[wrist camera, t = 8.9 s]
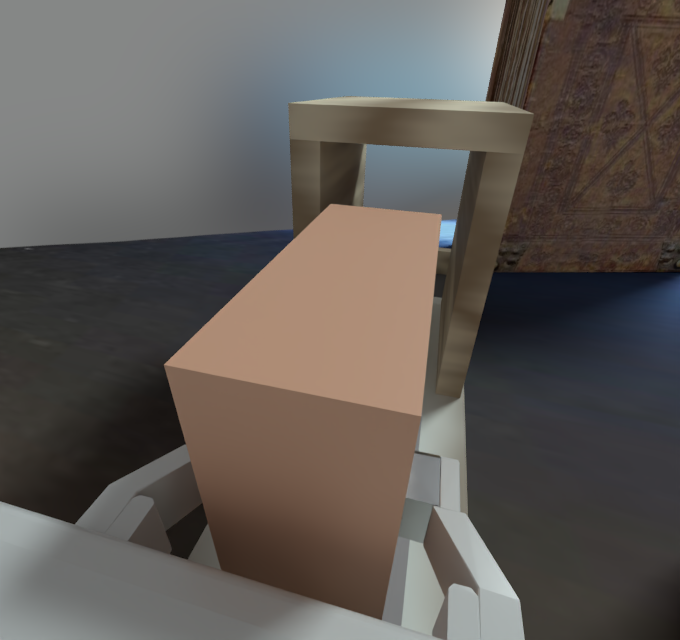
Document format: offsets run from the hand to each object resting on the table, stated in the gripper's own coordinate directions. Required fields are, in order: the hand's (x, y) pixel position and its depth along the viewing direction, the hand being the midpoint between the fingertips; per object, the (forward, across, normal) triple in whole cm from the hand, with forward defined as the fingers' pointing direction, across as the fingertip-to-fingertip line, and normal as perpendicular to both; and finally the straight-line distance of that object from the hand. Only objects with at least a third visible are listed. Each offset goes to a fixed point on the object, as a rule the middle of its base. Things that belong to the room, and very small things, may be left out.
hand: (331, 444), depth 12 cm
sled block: (+2, 0, +7) cm, 7 cm away
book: (+44, -19, +9) cm, 49 cm away
